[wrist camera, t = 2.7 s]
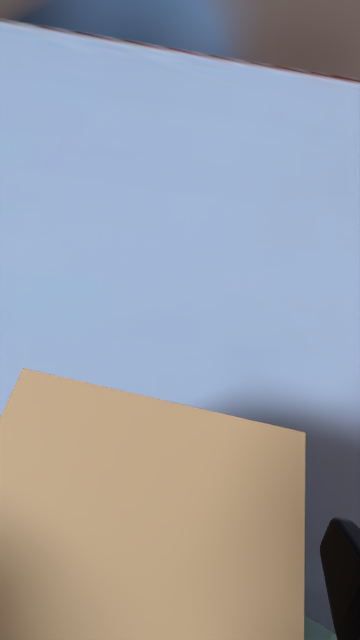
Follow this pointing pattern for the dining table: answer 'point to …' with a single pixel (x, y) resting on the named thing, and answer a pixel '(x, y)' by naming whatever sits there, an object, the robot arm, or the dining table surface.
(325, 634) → the tote
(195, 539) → the oat carton
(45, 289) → the dining table surface
